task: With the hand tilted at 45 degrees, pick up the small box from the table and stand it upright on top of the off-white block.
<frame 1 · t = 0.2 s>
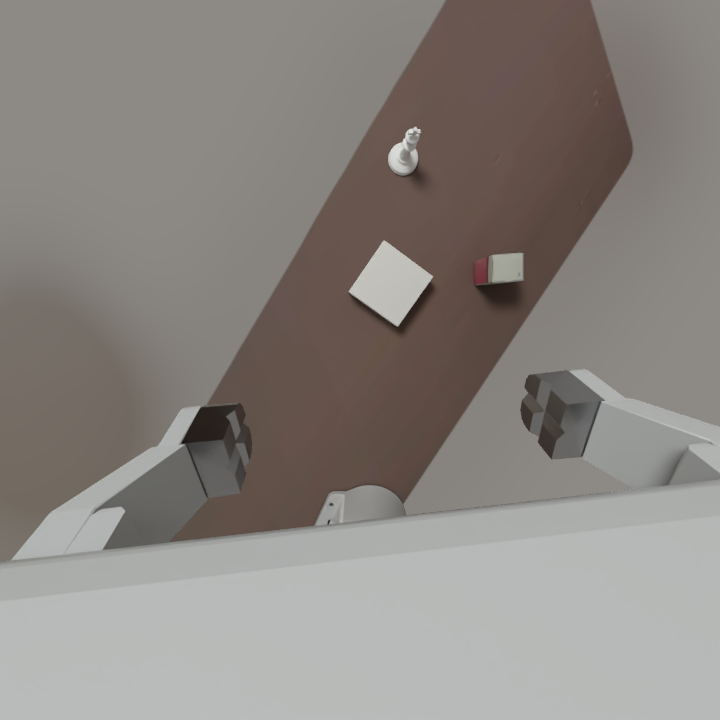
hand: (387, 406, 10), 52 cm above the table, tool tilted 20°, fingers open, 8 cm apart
off-white block: (387, 285, 61), on the table
small box: (486, 272, 61), on the table
chess piece: (402, 160, 57), on the table
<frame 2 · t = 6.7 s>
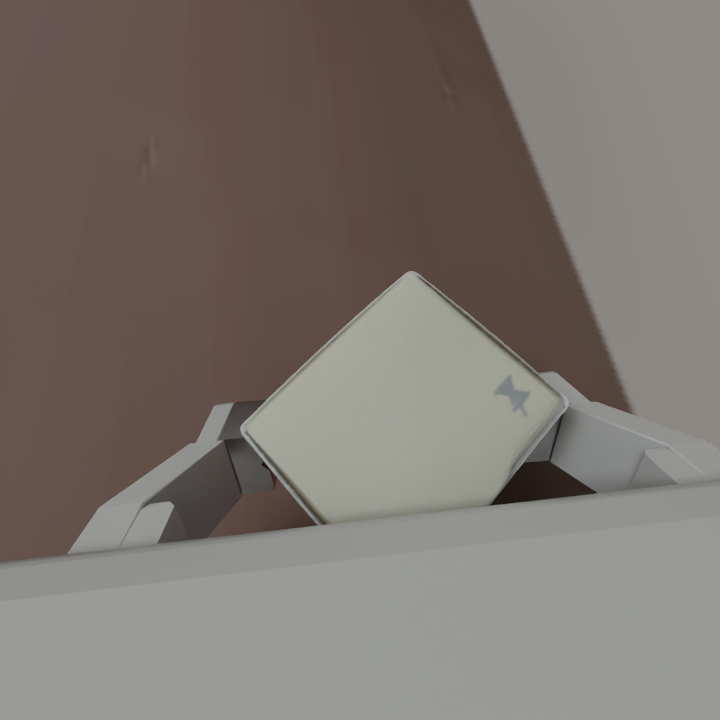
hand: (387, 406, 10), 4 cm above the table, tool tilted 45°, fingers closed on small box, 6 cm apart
small box: (378, 440, 14), on the table, touching gripper
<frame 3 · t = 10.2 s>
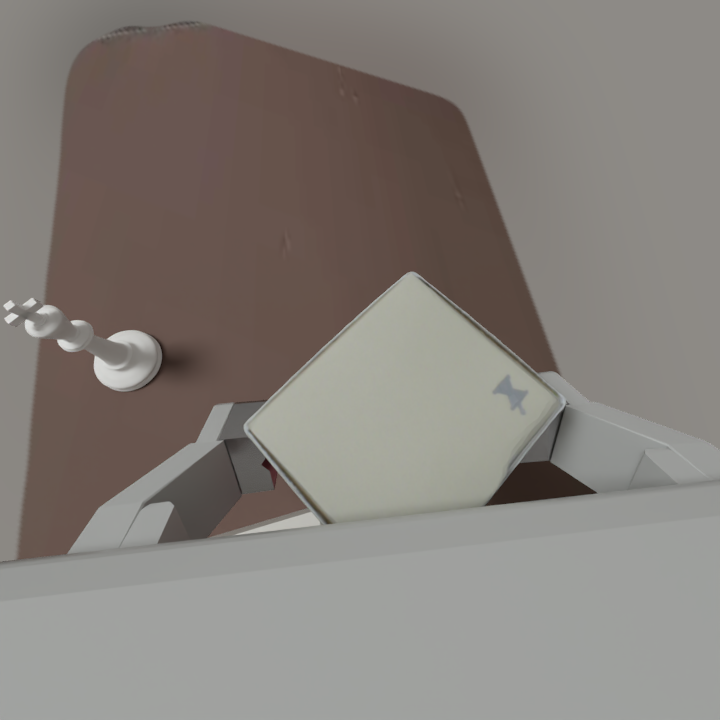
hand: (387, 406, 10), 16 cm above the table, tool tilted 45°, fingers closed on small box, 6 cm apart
off-white block: (268, 602, 23), on the table
small box: (378, 438, 14), point 12 cm above the table, touching gripper
chess piece: (132, 361, 28), on the table
when the fingers open (10 cm above the table, at t = 13.5 s): small box drops 2 cm, resting on off-white block.
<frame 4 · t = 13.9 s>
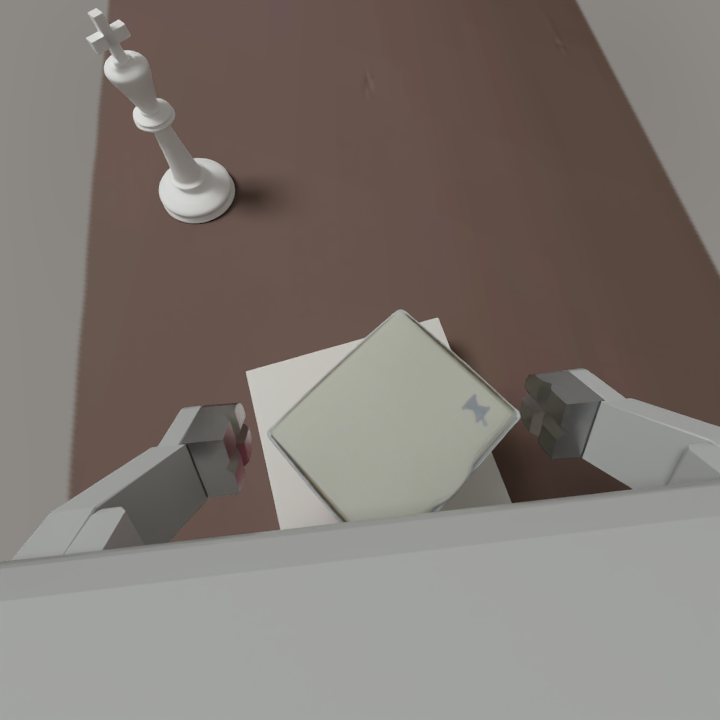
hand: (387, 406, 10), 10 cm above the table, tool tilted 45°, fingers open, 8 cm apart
off-white block: (370, 445, 20), on the table, touching small box
small box: (375, 441, 16), point 3 cm above the table, touching off-white block
chess piece: (200, 195, 24), on the table
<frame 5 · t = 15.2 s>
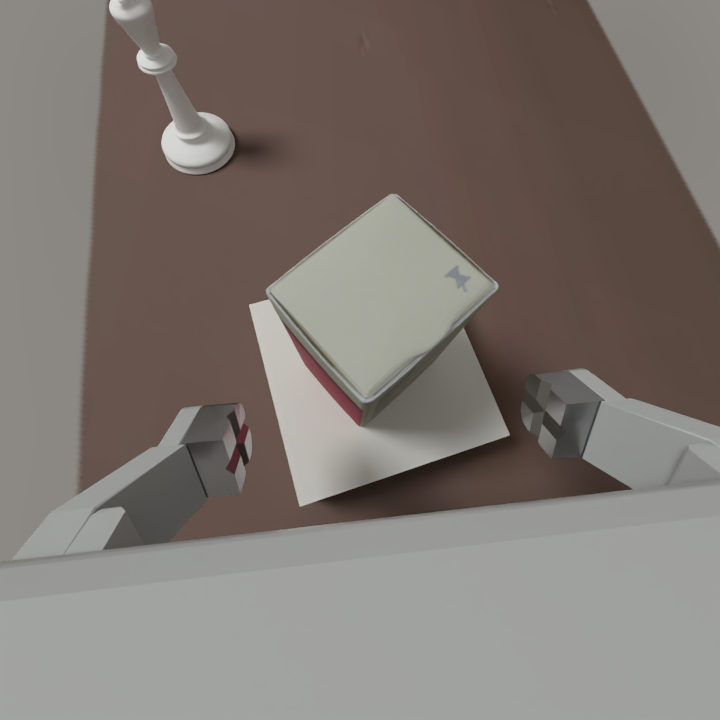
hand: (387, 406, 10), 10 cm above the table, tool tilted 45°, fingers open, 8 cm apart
off-white block: (369, 384, 21), on the table, touching small box
small box: (369, 364, 17), point 3 cm above the table, touching off-white block
chess piece: (201, 149, 25), on the table
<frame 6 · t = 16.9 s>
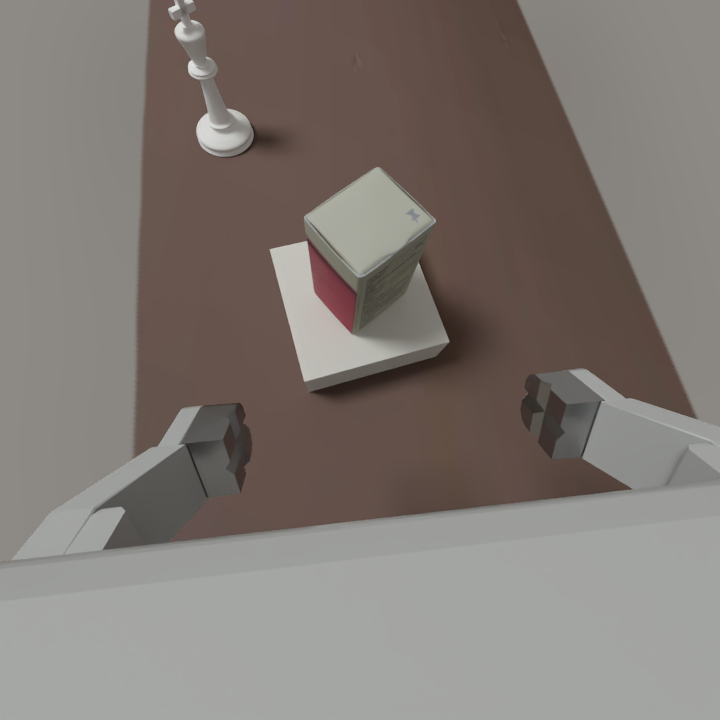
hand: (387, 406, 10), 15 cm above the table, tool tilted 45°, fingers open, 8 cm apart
off-white block: (354, 317, 28), on the table
small box: (359, 294, 24), point 3 cm above the table
chess piece: (226, 137, 32), on the table
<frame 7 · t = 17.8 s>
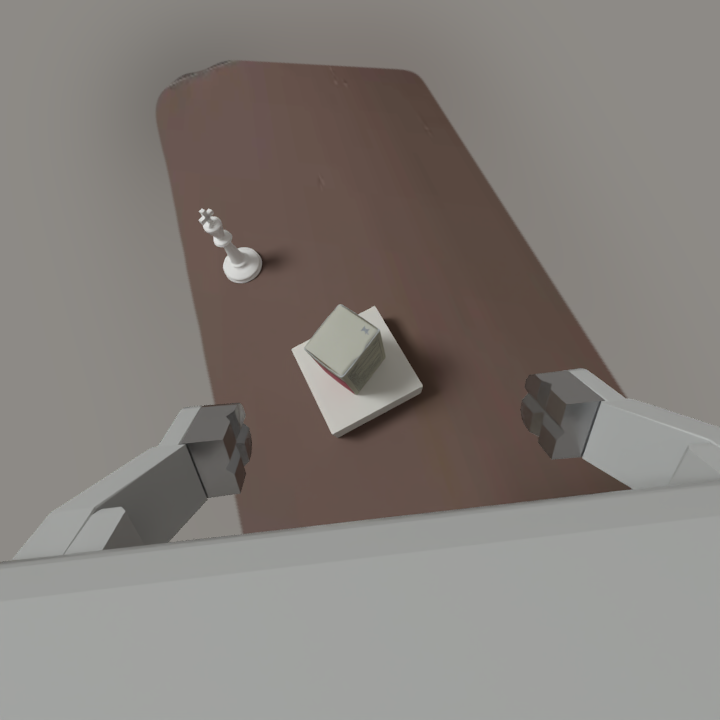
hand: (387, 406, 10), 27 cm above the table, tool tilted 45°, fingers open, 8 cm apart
off-white block: (358, 376, 39), on the table, touching small box
small box: (355, 365, 35), point 3 cm above the table, touching off-white block
chess piece: (244, 267, 44), on the table
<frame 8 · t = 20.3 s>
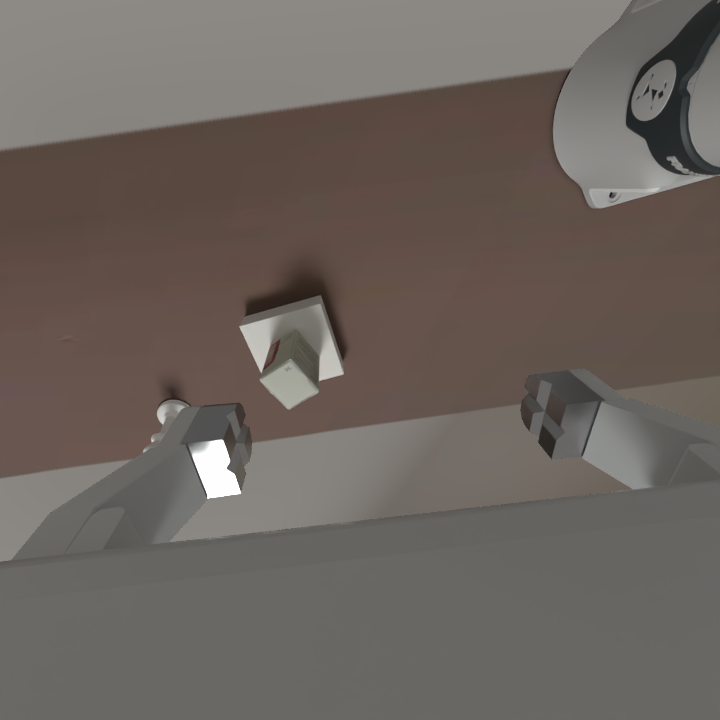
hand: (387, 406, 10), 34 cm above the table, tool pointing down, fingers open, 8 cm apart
off-white block: (296, 338, 46), on the table, touching small box
small box: (295, 351, 43), point 3 cm above the table, touching off-white block
chess piece: (177, 412, 50), on the table
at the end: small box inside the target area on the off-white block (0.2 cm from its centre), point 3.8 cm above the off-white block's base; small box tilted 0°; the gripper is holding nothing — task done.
